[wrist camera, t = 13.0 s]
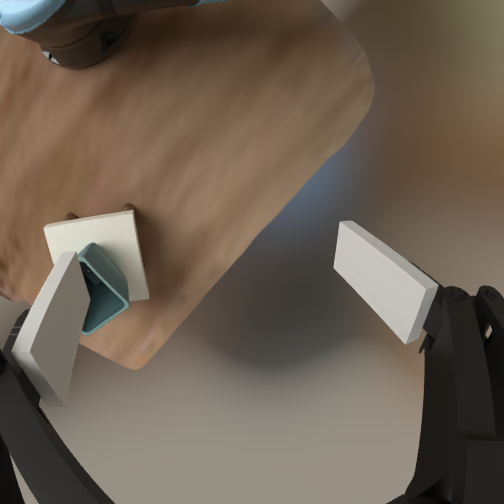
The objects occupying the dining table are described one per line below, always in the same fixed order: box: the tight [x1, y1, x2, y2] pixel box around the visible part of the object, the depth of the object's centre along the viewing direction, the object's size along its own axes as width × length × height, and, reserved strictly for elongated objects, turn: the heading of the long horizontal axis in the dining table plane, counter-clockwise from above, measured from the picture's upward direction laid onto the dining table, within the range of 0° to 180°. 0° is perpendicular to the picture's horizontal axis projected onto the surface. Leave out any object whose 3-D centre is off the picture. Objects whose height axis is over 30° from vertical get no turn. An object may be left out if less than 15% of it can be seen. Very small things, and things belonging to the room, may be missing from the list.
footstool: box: [44, 204, 149, 302], centre depth 43 cm, size 14×14×8 cm
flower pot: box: [77, 243, 130, 336], centre depth 36 cm, size 9×9×9 cm
